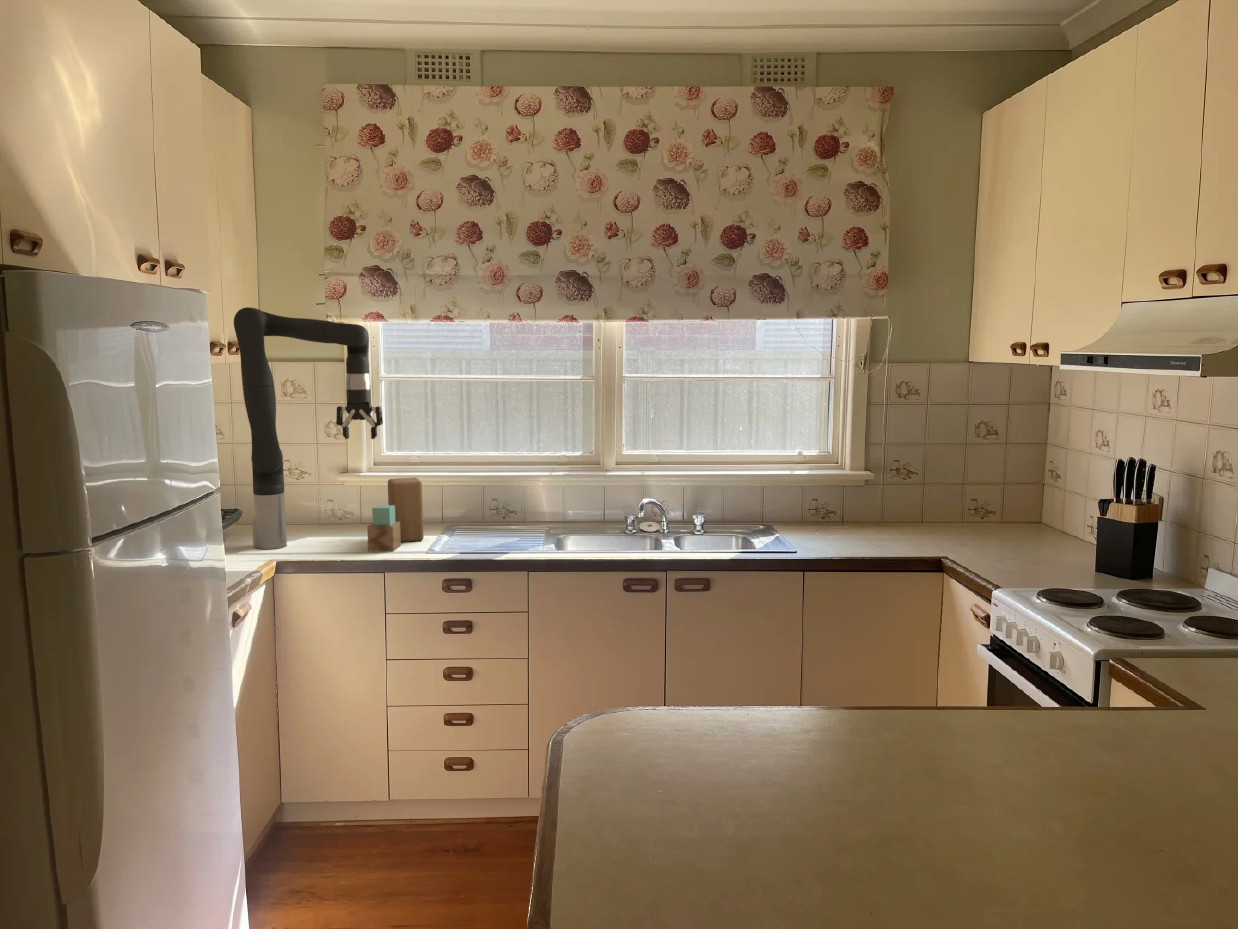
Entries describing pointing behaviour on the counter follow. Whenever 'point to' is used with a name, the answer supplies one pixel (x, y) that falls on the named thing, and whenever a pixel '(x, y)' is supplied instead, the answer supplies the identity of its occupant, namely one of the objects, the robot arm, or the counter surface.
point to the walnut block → (384, 537)
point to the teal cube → (383, 515)
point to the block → (407, 507)
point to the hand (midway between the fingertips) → (360, 438)
